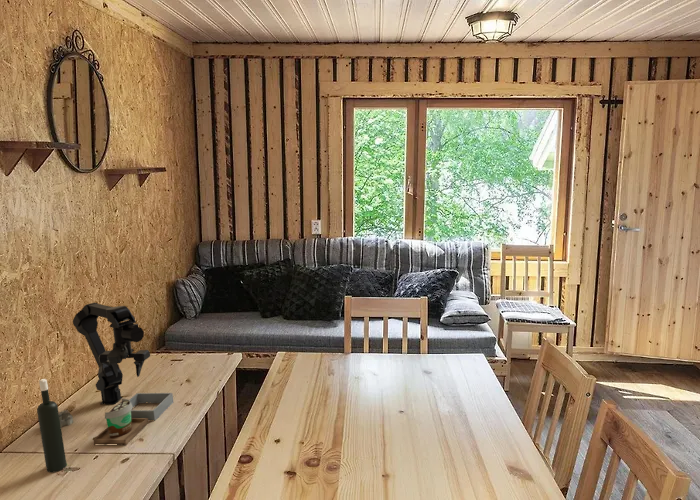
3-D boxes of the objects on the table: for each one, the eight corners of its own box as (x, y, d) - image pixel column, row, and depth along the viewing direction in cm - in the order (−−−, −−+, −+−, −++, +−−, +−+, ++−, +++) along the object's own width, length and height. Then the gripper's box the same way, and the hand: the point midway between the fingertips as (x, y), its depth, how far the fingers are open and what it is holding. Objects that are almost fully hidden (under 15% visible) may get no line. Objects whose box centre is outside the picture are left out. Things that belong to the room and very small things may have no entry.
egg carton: (70, 418, 218) (68, 408, 217) (74, 424, 212) (73, 414, 211) (39, 427, 211) (38, 417, 210) (43, 434, 205) (42, 423, 205)
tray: (93, 445, 194) (93, 439, 194) (118, 423, 210) (117, 418, 209) (126, 445, 192) (125, 439, 192) (148, 423, 208) (147, 418, 208)
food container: (124, 440, 194) (120, 413, 193) (107, 440, 195) (104, 413, 194) (141, 423, 206) (138, 397, 205) (126, 423, 207) (122, 398, 206)
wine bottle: (45, 474, 177) (31, 384, 172) (47, 465, 182) (33, 378, 177) (66, 469, 179) (52, 380, 174) (67, 461, 184) (53, 374, 179)
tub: (117, 421, 212) (115, 411, 211) (138, 402, 228) (136, 393, 227) (154, 420, 210) (153, 410, 209) (173, 402, 226) (172, 392, 225)
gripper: (88, 346, 212) (93, 385, 214) (134, 345, 210) (139, 384, 212) (104, 336, 223) (109, 373, 225) (148, 335, 220) (153, 373, 223)
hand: (127, 376), depth 221 cm, fingers open, 9 cm apart
